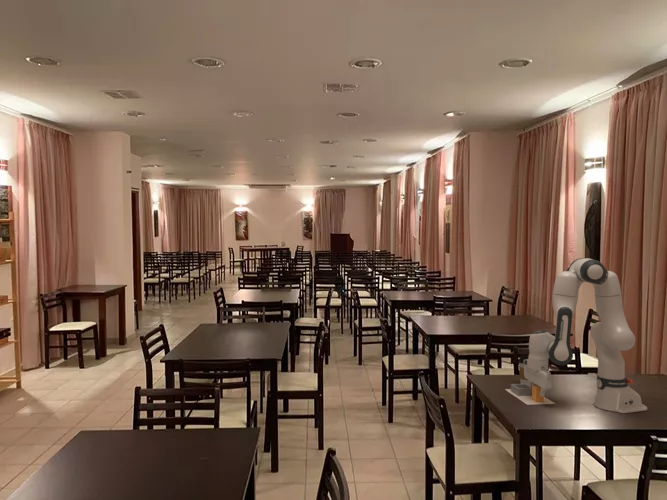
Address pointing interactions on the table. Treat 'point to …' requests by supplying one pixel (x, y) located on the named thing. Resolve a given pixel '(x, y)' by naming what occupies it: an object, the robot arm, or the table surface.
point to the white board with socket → (525, 394)
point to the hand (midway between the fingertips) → (537, 393)
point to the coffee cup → (522, 371)
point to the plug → (537, 394)
